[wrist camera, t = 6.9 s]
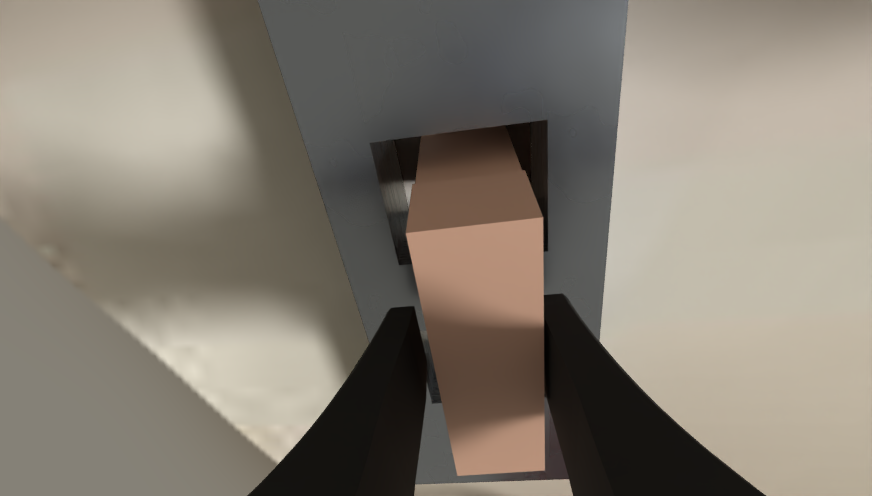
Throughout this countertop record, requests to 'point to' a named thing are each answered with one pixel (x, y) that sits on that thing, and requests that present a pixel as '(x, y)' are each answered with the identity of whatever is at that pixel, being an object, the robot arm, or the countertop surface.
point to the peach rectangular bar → (482, 296)
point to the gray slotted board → (449, 112)
